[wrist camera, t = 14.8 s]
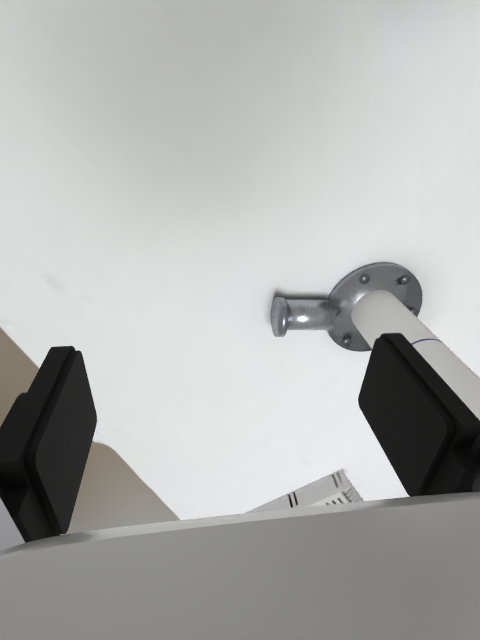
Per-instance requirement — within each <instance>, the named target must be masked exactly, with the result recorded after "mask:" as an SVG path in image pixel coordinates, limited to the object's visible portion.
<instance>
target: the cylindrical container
mask: <svg viewBox="0 0 480 640" xmlns="http://www.w3.org/2000/svg"><path fill="white" fill-rule="evenodd" d="M351 318H352V322H353V324H354V325H355V326H356V328H357V329H358V331H359V332H360V333H361V335H362V336H363V337H364V339H365V340H366V341H367V343H368V344H369V346H370V347H371V348H372V349H373V345H374V342H375V340H376V339H377V338H379V337H380V335H381V334H383V333H401V334H403V335H404V336H405V338H406V339H407V340H408V341H409V342H410V343H411V344H412V345H413V347H414V348H415V349H416V350H417V351H418V352H419V353H420V354H421V355H422V357H423V358H424V359H425V360H426V361H427V362H428V363H429V364H430V365H431V367H432V368H433V369H434V370H435V371H436V372H437V373H438V374H439V375H440V377H441V378H442V379H443V380H444V381H445V382H446V383H447V384H448V386H449V387H450V388H451V389H452V390H453V391H454V392H455V393H456V394H457V396H458V397H459V398H460V399H461V400H462V401H463V402H464V403H465V404H466V406H467V407H468V408H469V409H470V410H471V411H472V412H473V413H474V414H475V416H476V417H477V418H478V419H479V420H480V378H479V377H478V376H477V375H476V374H475V373H474V372H473V371H472V370H471V369H470V368H469V367H468V366H467V365H466V364H464V363H463V362H462V361H461V360H460V359H459V358H458V357H457V356H456V355H455V354H454V353H453V352H452V351H451V350H450V349H449V348H448V347H447V346H446V345H445V344H444V343H443V342H442V341H441V340H440V339H438V338H437V337H436V336H435V335H434V334H433V333H432V332H431V331H430V330H429V329H428V328H427V327H426V326H425V325H424V324H423V323H422V322H421V321H420V320H419V319H418V318H417V317H416V316H415V315H414V314H413V313H412V312H411V311H409V310H408V309H407V308H406V307H405V306H404V305H403V304H402V303H401V302H400V301H399V300H398V299H397V298H396V297H395V296H394V295H393V294H392V293H390V292H388V291H385V290H375V291H372V292H369V293H367V294H365V295H364V296H362V297H361V298H360V299H359V300H358V301H357V302H356V303H355V305H354V307H353V309H352V313H351Z"/></svg>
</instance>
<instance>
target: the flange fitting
mask: <svg viewBox="0 0 480 640" xmlns="http://www.w3.org/2000/svg"><path fill="white" fill-rule="evenodd" d="M375 290H385V291H388V292H390V293H392V294H393V295H394V296H395V297H396V298H397V299H398V300H399V301H400V302H401V303H402V304H403V305H404V306H405V307H406V308H407V309H408V310H409V311H411V312H412V313H413V314H414V315H415V316H416V317H417V316H418V314H419V312H420V308H421V304H422V290H421V286H420V284H419V282H418V280H417V279H416V277H415V276H414V275H413V274H411V273H410V272H409V271H408V270H406V269H405V268H403V267H401V266H399V265H397V264H393V263H374V264H370V265H366V266H363V267H361V268H358V269H357V270H355V271H353V272H351V273H350V274H348V275H347V276H346V277H344V278H343V279H342V280H341V281H340V282H339V283H338V284H337V285H336V286H335V288H334V289H333V290H332V292H331V293H330V295H329V297H328V299H327V300H302V299H285V298H284V297H275V298H274V300H273V303H272V310H271V324H272V331H273V334H274V336H276V337H283V336H285V334H286V331H287V330H327V331H328V333H329V335H330V337H331V338H332V339H333V341H334V342H336V343H337V344H338V345H339V346H341V347H343V348H345V349H348V350H351V351H361V352H362V351H371V350H372V348H371V347H370V346H369V344H368V343H367V341H366V340H365V339H364V337H363V336H362V335H361V333H360V332H359V331H358V329H357V328H356V326H355V325H354V324H353V322H352V318H351V313H352V309H353V307H354V305H355V303H356V302H357V301H358V300H359V299H360V298H361V297H362V296H364V295H365V294H367V293H369V292H372V291H375Z"/></svg>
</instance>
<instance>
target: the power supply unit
mask: <svg viewBox="0 0 480 640" xmlns="http://www.w3.org/2000/svg"><path fill="white" fill-rule="evenodd" d="M353 502H363V499H362V498H361V496H360V495H359V494H358V492H357V491H356V490H355V488H354V487H353V485H352V484H351V483H350V481H349V480H348V479H347V477H346V476H345V473H344V471H343V469H341V470H339V472H338V473H336V472H334V475H331V474H330V475H328V476H326V477H323V478H321V479H319V480H317V481H315V482H312V483H310V484H308V485H306V486H303V487H301V488H299V489H297V490H295V492H294V493H293V492H290V495H288V494H286V495H284V496H282V497H279V498H277V499H275V500H273V501H271V502H268V503H266V504H264V505H262V506H260V507H257V508H255V509H253V510H251V511H249V512H246V513H254V512H264V511H274V510H283V509H293V508H303V507H313V506H322V505H332V504H342V503H353ZM244 514H245V513H244Z"/></svg>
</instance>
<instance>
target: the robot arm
mask: <svg viewBox="0 0 480 640" xmlns="http://www.w3.org/2000/svg"><path fill="white" fill-rule="evenodd" d="M358 402H359V407H360V409H361V411H362V412H363V414H364V416H365V418H366V420H367V421H368V423H369V425H370V427H371V429H372V431H373V432H374V434H375V436H376V438H377V440H378V441H379V443H380V445H381V447H382V449H383V450H384V452H385V454H386V456H387V458H388V459H389V461H390V463H391V465H392V467H393V469H394V470H395V472H396V474H397V476H398V478H399V479H400V481H401V483H402V485H403V487H404V488H405V490H406V492H407V494H408V495H409V496H410V497H404V498H394V499H383V500H373V501H363V502H353V503H342V504H332V505H322V506H313V507H303V508H293V509H283V510H274V511H264V512H254V513H245V514H235V515H226V516H217V517H207V518H198V519H189V520H180V521H171V522H162V523H152V524H143V525H135V526H127V527H119V528H111V529H103V530H95V531H87V532H80V533H73V534H67V535H61V536H60V534H65V533H66V532H67V531H68V528H69V524H70V521H71V517H72V513H73V510H74V506H75V502H76V498H77V494H78V491H79V487H80V484H81V480H82V476H83V472H84V469H85V465H86V461H87V458H88V454H89V450H90V447H91V443H92V439H93V435H94V432H95V428H96V423H97V415H96V410H95V406H94V402H93V398H92V394H91V389H90V385H89V381H88V377H87V373H86V369H85V365H84V360H83V356H82V353H81V351H75V348H74V347H73V346H61V347H51V349H50V350H49V352H48V354H47V356H46V358H45V360H44V361H43V363H42V365H41V367H40V369H39V371H38V373H37V375H36V377H35V378H34V380H33V382H32V384H31V386H30V388H29V390H28V392H27V393H21V394H20V395H19V396H18V397H17V399H16V400H15V402H14V404H13V406H12V407H11V409H10V411H9V413H8V415H7V417H6V418H5V420H4V422H3V424H2V425H1V428H0V640H480V420H479V419H478V418H477V417H476V416H475V414H474V413H473V412H472V411H471V410H470V409H469V408H468V407H467V406H466V404H465V403H464V402H463V401H462V400H461V399H460V398H459V397H458V396H457V394H456V393H455V392H454V391H453V390H452V389H451V388H450V387H449V386H448V384H447V383H446V382H445V381H444V380H443V379H442V378H441V377H440V375H439V374H438V373H437V372H436V371H435V370H434V369H433V368H432V367H431V365H430V364H429V363H428V362H427V361H426V360H425V359H424V358H423V357H422V355H421V354H420V353H419V352H418V351H417V350H416V349H415V348H414V347H413V345H412V344H411V343H410V342H409V341H408V340H407V339H406V338H405V336H404V335H403V334H401V333H383V334H381V335H380V337H379V338H377V339H376V340H375V342H374V345H373V349H372V352H371V356H370V359H369V363H368V366H367V370H366V373H365V376H364V380H363V383H362V387H361V390H360V394H359V398H358Z"/></svg>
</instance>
